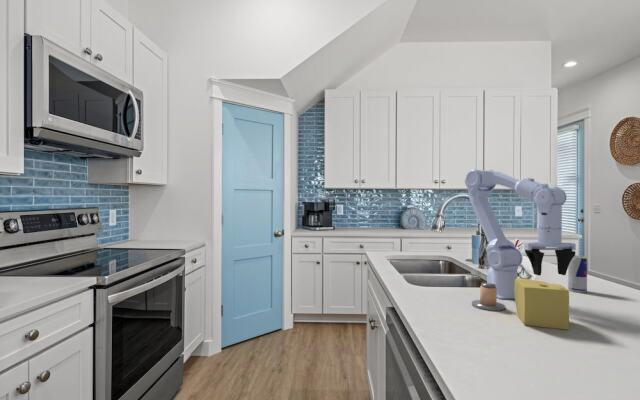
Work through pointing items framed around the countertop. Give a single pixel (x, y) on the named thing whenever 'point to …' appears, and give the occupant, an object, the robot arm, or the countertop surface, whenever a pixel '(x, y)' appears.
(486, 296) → the spice jar
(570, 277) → the energy drink
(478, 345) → the countertop surface
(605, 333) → the countertop surface
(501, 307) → the coaster
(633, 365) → the countertop surface
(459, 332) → the countertop surface
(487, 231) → the robot arm
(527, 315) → the cheese
